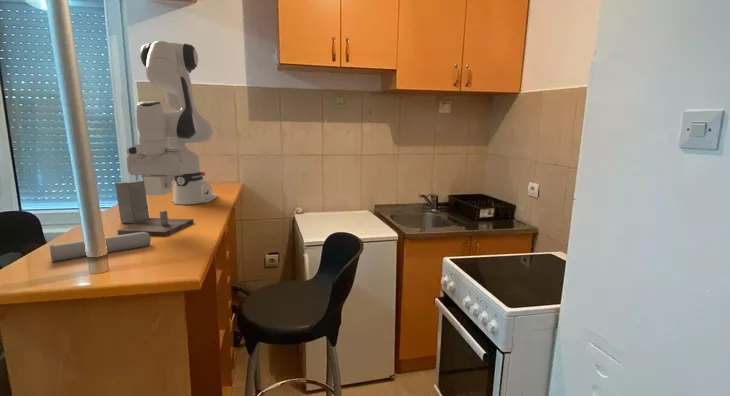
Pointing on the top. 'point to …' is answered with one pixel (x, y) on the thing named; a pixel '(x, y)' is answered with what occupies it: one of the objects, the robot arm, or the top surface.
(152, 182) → the grey cube
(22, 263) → the top surface
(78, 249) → the tube
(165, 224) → the peg board
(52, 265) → the top surface
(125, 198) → the skincare box
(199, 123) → the robot arm
